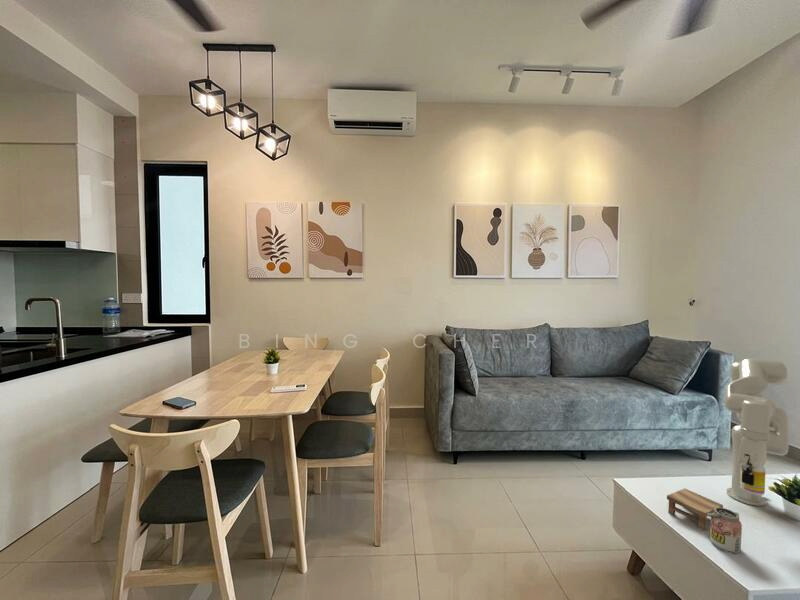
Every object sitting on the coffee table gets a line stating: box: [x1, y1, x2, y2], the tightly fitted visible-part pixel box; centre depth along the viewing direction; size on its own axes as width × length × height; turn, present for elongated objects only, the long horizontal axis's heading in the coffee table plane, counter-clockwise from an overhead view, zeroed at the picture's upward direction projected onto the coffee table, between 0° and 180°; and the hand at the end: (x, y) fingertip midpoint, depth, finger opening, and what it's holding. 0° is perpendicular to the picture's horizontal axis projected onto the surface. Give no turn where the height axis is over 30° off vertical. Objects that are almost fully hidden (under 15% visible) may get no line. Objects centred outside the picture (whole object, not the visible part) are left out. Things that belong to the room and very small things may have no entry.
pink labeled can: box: [707, 507, 743, 554], centre depth 128 cm, size 9×8×12 cm
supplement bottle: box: [740, 461, 766, 496], centre depth 135 cm, size 7×7×13 cm
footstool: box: [666, 488, 724, 531], centre depth 144 cm, size 13×13×7 cm
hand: (752, 481), depth 135 cm, fingers closed on supplement bottle, 6 cm apart
